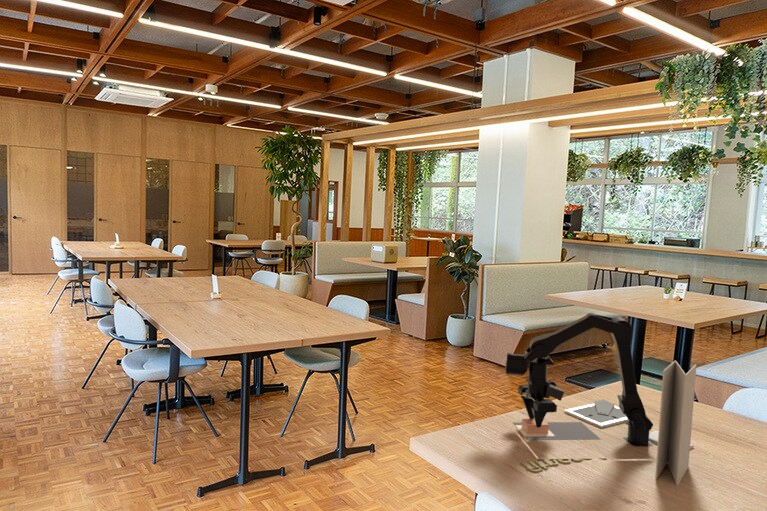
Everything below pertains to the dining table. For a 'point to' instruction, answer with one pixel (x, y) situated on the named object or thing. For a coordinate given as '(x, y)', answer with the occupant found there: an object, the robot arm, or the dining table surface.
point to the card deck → (534, 427)
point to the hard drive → (654, 438)
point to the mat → (561, 432)
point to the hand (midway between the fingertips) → (535, 423)
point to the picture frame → (599, 414)
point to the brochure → (675, 420)
